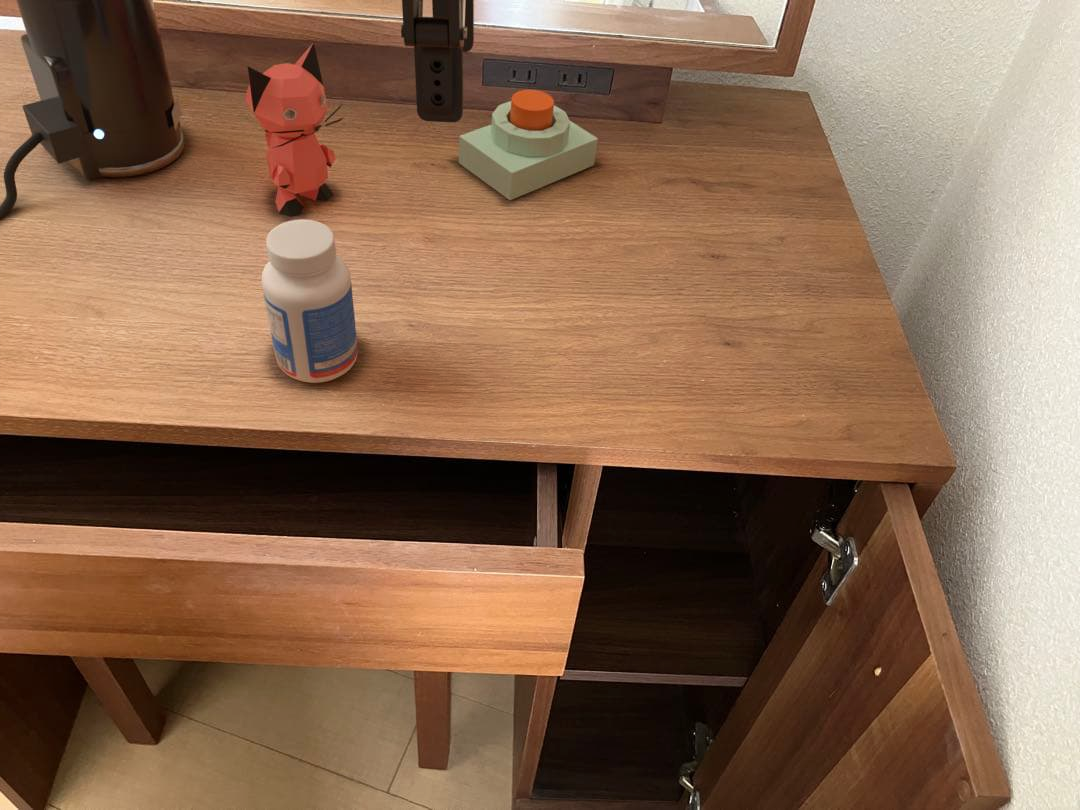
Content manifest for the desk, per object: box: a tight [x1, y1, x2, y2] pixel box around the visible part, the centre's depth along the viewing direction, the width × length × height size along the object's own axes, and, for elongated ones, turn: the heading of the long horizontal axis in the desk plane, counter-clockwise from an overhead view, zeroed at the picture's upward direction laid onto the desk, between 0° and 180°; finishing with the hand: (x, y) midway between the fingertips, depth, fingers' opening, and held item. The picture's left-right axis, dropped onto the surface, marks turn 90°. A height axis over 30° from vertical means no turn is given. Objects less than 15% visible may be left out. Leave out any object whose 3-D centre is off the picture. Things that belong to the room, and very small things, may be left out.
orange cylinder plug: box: [510, 89, 555, 131], centre depth 76 cm, size 4×4×2 cm
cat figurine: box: [244, 42, 345, 217], centre depth 69 cm, size 7×7×12 cm
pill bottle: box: [261, 219, 359, 384], centre depth 57 cm, size 6×5×10 cm
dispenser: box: [458, 100, 599, 201], centre depth 78 cm, size 10×7×4 cm
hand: (447, 81), depth 47 cm, fingers open, 8 cm apart
